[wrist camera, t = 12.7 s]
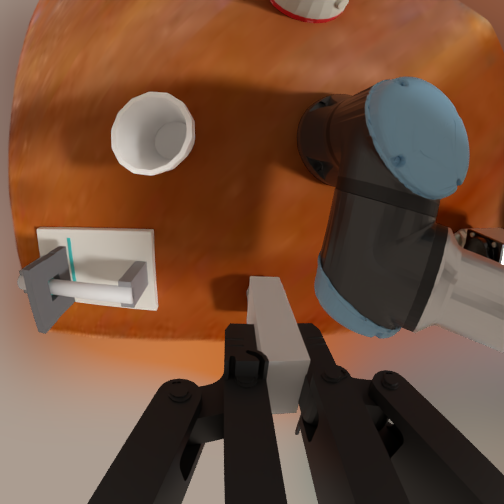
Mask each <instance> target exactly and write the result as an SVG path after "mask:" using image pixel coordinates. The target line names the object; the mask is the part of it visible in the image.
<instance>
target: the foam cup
mask: <svg viewBox="0 0 504 504" xmlns="http://www.w3.org/2000/svg"><path fill="white" fill-rule="evenodd" d="M194 140H195V121H194V119H193V117H192V115H191V114H190V112H189V110H188V108H187V107H186V105H185V104H184V103H183V102H182V101H180V100H179V99H177V98H175V97H174V96H172V95H170V94H169V93H163V92H147V93H145V94H142V95H140V96H137V97H135V98H133V99H131V100H130V101H129V102H128V103H127V104H126V105H125V106H124V107H123V108H122V109H121V110H120V111H119V112H118V114H117V117H116V119H115V121H114V124H113V126H112V129H111V144H112V150H113V152H114V154H115V156H116V158H117V160H118V161H119V163H120V164H121V165H122V166H124V167H125V168H127V169H128V170H130V171H131V172H132V173H134V174H142V175H151V176H152V175H157V174H160V173H163V172H166V171H169V170H172V169H174V168H175V167H177V166H178V165H179V164H180V163H181V162H182V161H183V160H184V159H185V158H186V157H187V156H188V154H189V153H190V152H191V150H192V148H193V145H194V143H195V142H194Z"/></svg>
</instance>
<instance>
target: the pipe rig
mask: <svg viewBox="0 0 504 504" xmlns="http://www.w3.org/2000/svg"><path fill="white" fill-rule="evenodd" d="M37 237H38V245H39V252H40V258H42V257H43V256H45V255H46V254H48V253H49V252H50V251H52V250H53V249H55V248H57V247H58V246H66V251H67V258H68V265H69V271H70V277H71V281H67V280H58V279H54V278H52V279H50V280H49V281H48V283H49V288H50V292H51V295H53V294H54V295H60V296H67V297H74V298H75V302H81V303H89V304H97V305H105V306H114V307H123V308H133V309H143V310H154V311H156V310H157V308H158V298H157V285H156V270H155V251H154V229H128V228H83V227H40V228H38V229H37ZM40 258H38V259H37V260H39V259H40ZM35 261H36V260H35ZM33 262H34V261H33ZM33 262H32V263H33ZM30 264H31V263H30ZM30 264H29V265H30ZM27 266H28V265H27ZM27 266H26V267H27ZM24 268H25V267H24ZM24 268H23V269H24ZM19 272H20V276H19V278H18V281H17V282H18V287H19V288H20V289H23V290H24V293H27V290H26V286H25V282H24V277H23V272H22V269H21V270H20V271H19Z"/></svg>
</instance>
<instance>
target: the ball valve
mask: <svg viewBox="0 0 504 504" xmlns="http://www.w3.org/2000/svg"><path fill="white" fill-rule="evenodd" d="M454 236H455V238H456V240H457V242H458V244H459V246H461V247H462V248H464V249H466V250H469V251H471V252H474V253H476V254H479V255H481V256H484V257H486V258H489V259H491V260H494V261H496V262H498V263H501V264H503V265H504V228H482V229H480V228H471V229H460V230H458V231H457V232H456V233H454Z"/></svg>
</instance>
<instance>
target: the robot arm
mask: <svg viewBox="0 0 504 504" xmlns="http://www.w3.org/2000/svg"><path fill="white" fill-rule="evenodd" d="M297 144H298V149H299V153H300V156H301V158H302V160H303V162H304V164H305V166H306V167H307V168H308V170H309V171H310V172H311V173H312V174H313V175H314V176H315V177H316V178H317V179H319V180H320V181H322V182H324V183H326V184H328V185H331V186H334V187H336V189H335V191H334V196H333V201H332V206H331V211H330V216H329V220H328V225H327V229H326V233H325V237H324V241H323V245H322V249H321V251H320V253H319V256H318V269H317V274H316V278H315V286H314V287H315V294H316V296H317V298H318V299H319V303H320V304H321V306H322V307H323V309H324V310H325V311H326V312H327V313H328V314H329V315H330V316H331V317H332V318H333V319H334V320H336V321H337V322H338V323H340V324H341V325H343V326H344V327H346V328H348V329H350V330H352V331H354V332H356V333H358V334H361V335H364V336H368V337H373V336H377V337H378V338H389V337H391V336H393V335H395V334H396V333H397V332H398V331H400V329H401V327H402V328H404V329H407V330H410V331H412V332H414V333H416V332H418V331H420V330H423V329H425V328H427V327H429V326H433V325H436V326H438V327H441V328H443V329H446V330H448V331H451V332H453V333H456V334H458V335H461V336H463V337H465V338H468V339H470V340H473V341H475V342H478V343H481V344H483V345H485V346H488V347H490V348H493V349H495V350H498V351H500V352H503V353H504V265H503V264H501V263H498V262H496V261H494V260H491V259H489V258H486V257H484V256H481V255H479V254H476V253H474V252H471V251H469V250H466V249H464V248H462V247H461V246H459V244H458V242H457V240H456V238H455V236H454V234H453V232H452V230H451V228H449V227H446V226H443V225H441V224H438V223H436V217H437V212H438V208H439V204H440V199H442V198H445V197H447V196H449V195H451V194H453V193H454V192H455V191H456V190H457V186H458V185H461V184H462V183H463V181H464V179H465V177H466V173H467V170H468V165H469V143H468V137H467V133H466V130H465V127H464V124H463V122H462V119H461V118H460V117H459V116H458V114H457V111H456V109H455V107H454V105H453V104H452V102H451V101H450V100H449V99H448V98H447V97H446V95H445V94H444V93H442V92H441V91H440V90H439V89H438V88H437V87H435V86H434V85H432V84H430V83H429V82H427V81H424V80H422V79H419V78H415V77H399V78H396V79H392V80H384V81H381V82H379V83H377V84H375V85H373V86H371V87H369V88H367V89H365V90H363V91H361V92H359V93H358V94H356V95H354V96H352V95H346V94H336V95H330V96H327V97H324V98H322V99H320V100H319V101H317V102H315V103H314V104H313V105H311V106H310V107H309V108H308V109H307V110H306V112H305V113H304V115H303V116H302V118H301V120H300V123H299V127H298V132H297ZM298 404H299V406H300V410H301V415H300V418H299V421H298V424H297V427H296V432H295V434H296V435H298V434H299V431H300V429H301V433H302V438H303V442H304V446H305V450H306V454H307V458H308V463H309V467H310V470H311V475H312V479H313V484H314V487H315V492H316V496H317V500H318V504H504V475H503V474H502V473H501V472H500V471H499V470H498V469H497V468H496V467H495V466H494V465H493V464H492V463H491V462H490V461H489V460H488V459H487V458H486V457H485V456H484V455H483V454H482V453H481V452H480V451H479V450H478V449H477V448H476V447H475V446H474V445H473V444H472V443H471V442H470V441H469V440H468V439H467V438H466V437H465V436H464V435H463V434H462V433H461V432H460V431H459V430H457V428H455V427H454V426H453V425H452V424H451V423H450V422H449V421H448V420H447V419H446V418H445V417H444V416H443V415H442V414H441V413H440V412H439V411H438V410H437V409H436V408H435V407H434V406H432V404H431V403H430V402H429V401H428V400H427V399H425V398H424V397H423V396H422V395H421V394H420V393H419V392H418V391H417V390H416V389H415V388H414V387H413V386H412V385H411V384H410V383H409V382H407V380H406V379H405V378H403V377H402V376H401V375H399V374H398V373H396V372H393V371H386V370H385V371H380V372H378V373H377V374H375V375H374V377H373V379H372V380H364V379H357V378H352V377H351V376H350V374H349V373H348V371H347V370H345V369H344V368H342V367H341V366H338V365H336V363H335V361H334V359H333V357H332V355H331V353H330V351H329V349H328V347H327V345H326V342H325V340H324V339H323V336H322V334H321V332H320V330H319V329H318V328H317V327H316V326H314V325H313V324H312V323H298V324H297V323H296V320H295V318H294V315H293V312H292V310H291V307H290V304H289V302H288V299H287V297H286V294H285V291H284V289H283V286H282V284H281V281H280V279H279V277H258V276H250V283H249V297H248V311H247V324H231V323H230V325H229V326H228V327H227V328H226V330H225V359H224V374H223V376H222V377H221V378H220V380H218V381H217V382H215V383H213V384H210V385H206V386H200V387H198V386H197V385H196V384H195V383H194V382H191V381H189V380H185V379H173V380H170V381H168V382H165V383H164V384H163V385H162V386H161V387H160V388H159V389H158V391H157V392H156V394H155V395H154V397H153V399H152V400H151V402H150V404H149V405H148V407H147V408H146V410H145V411H144V413H143V415H142V416H141V418H140V419H139V421H138V423H137V425H136V426H135V427H134V429H133V431H132V432H131V434H130V436H129V437H128V439H127V440H126V442H125V444H124V445H123V447H122V449H121V450H120V452H119V453H118V455H117V456H116V458H115V460H114V461H113V463H112V464H111V466H110V468H109V469H108V471H107V473H106V474H105V476H104V477H103V479H102V481H101V482H100V484H99V486H98V487H97V489H96V490H95V492H94V494H93V495H92V497H91V499H90V500H89V502H88V504H181V503H182V501H183V498H184V496H185V493H186V491H187V488H188V486H189V483H190V481H191V478H192V476H193V473H194V471H195V468H196V465H197V463H198V460H199V458H200V455H201V452H202V449H203V447H204V445H205V443H206V442H211V441H215V440H220V439H224V482H225V504H287V499H286V494H285V488H284V482H283V476H282V470H281V464H280V459H279V453H278V447H277V441H276V436H275V429H274V423H273V417H272V414H284V413H296V411H297V408H298ZM389 419H390V420H391V421H392V422H393V423H394V424H391V423H389V422H388V420H389Z"/></svg>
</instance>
